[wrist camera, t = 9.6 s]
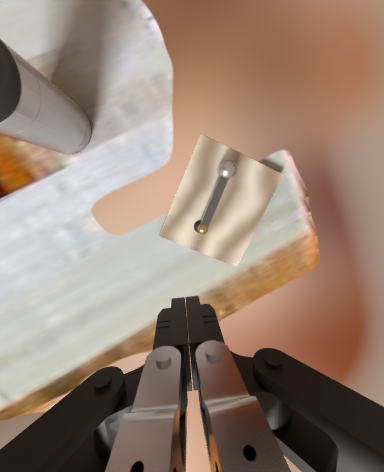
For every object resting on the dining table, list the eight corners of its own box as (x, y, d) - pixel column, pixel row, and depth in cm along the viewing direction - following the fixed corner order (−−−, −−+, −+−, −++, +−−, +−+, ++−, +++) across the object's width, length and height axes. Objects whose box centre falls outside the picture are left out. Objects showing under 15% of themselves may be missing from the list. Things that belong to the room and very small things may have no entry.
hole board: (159, 234, 43) (158, 235, 41) (199, 135, 39) (200, 133, 37) (235, 264, 45) (237, 267, 44) (279, 174, 42) (283, 174, 40)
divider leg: (221, 158, 38) (224, 156, 36) (236, 165, 39) (240, 163, 37) (192, 228, 41) (193, 231, 39) (207, 234, 42) (208, 236, 39)
